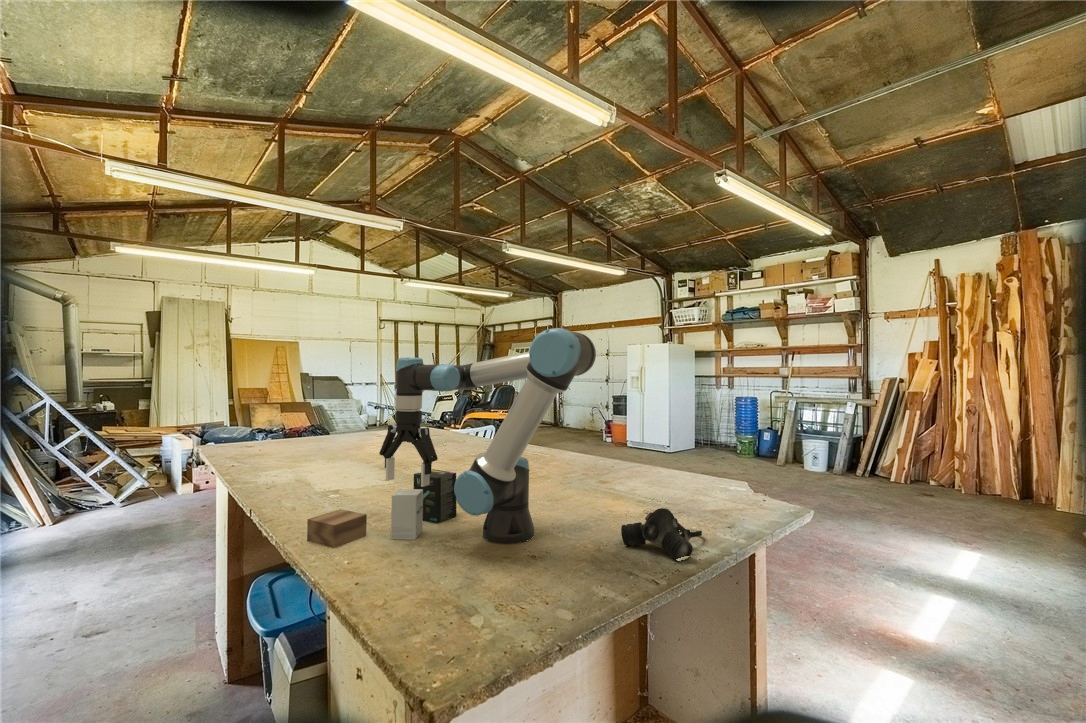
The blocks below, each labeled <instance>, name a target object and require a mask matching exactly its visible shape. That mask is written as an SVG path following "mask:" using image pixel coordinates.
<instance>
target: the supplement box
mask: <svg viewBox="0 0 1086 723" xmlns="http://www.w3.org/2000/svg"><path fill="white" fill-rule="evenodd" d="M390 512H391V515H390V516H391V517H390V520H391V522H390V523H391V524H390V540H405V541H406V540H407V541H410V540H411V541H412V540H413V541H415V540H416V539H417V538H418V536H419V535H420V534H421V533H422V532H423V523H424V522H423V489H414V488H413V489H411V488H408V489H407V488H406V489H401V488H400V489H398V490H397V491H396V492H394V493H393V494H392V495H391V511H390Z"/></svg>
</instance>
